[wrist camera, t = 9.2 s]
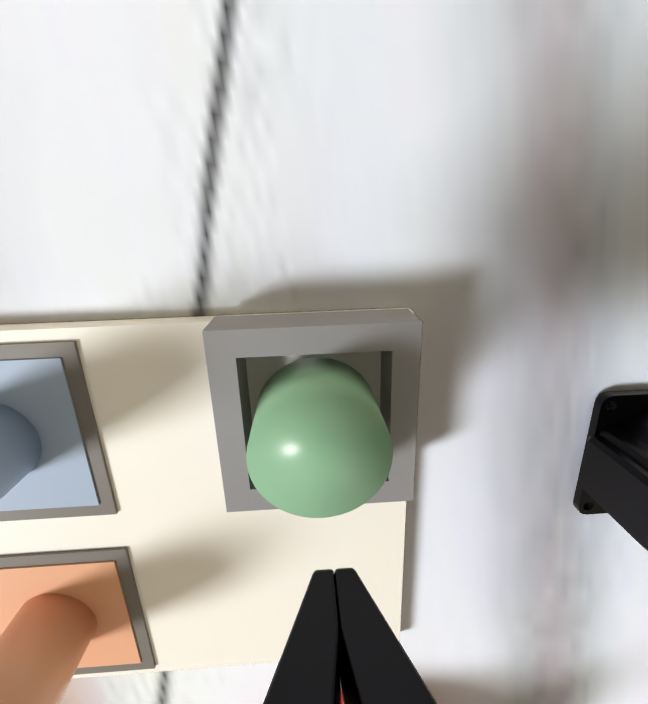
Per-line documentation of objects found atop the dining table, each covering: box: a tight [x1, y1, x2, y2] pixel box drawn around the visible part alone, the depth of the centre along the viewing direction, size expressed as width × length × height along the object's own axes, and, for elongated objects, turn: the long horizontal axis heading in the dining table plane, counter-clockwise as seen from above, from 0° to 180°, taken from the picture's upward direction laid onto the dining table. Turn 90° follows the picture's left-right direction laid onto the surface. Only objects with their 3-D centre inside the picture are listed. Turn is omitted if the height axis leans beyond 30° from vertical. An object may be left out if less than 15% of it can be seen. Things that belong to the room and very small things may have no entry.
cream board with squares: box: [0, 308, 423, 678], centre depth 17 cm, size 22×19×3 cm
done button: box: [246, 357, 393, 518], centre depth 14 cm, size 5×5×3 cm
